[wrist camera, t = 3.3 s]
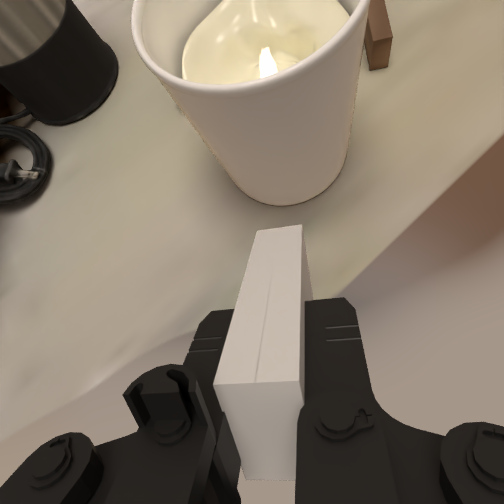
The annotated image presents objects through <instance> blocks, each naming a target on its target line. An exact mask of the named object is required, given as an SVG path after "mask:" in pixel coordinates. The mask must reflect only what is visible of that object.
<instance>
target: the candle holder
mask: <svg viewBox="0 0 504 504" xmlns="http://www.w3.org/2000/svg"><path fill="white" fill-rule="evenodd" d="M370 1H371V0H134V2H133V6H132V13H131V31H132V37H133V41H134V44H135V47H136V49H137V51H138V53H139V55H140V57H141V59H142V60H143V62H144V63H145V65H146V66H147V67H148V68H149V70H150V71H151V72H152V73H153V74H154V75H155V76H156V77H157V78H158V79H159V81H160V82H161V83H162V85H163V86H164V87H165V89H166V90H167V92H168V93H169V94H170V96H171V97H172V98H173V100H174V101H175V102H176V104H177V105H178V107H179V108H180V109H181V111H182V112H183V113H184V115H185V116H186V118H187V119H188V120H189V122H190V123H191V124H192V126H193V127H194V129H195V130H196V131H197V133H198V134H199V135H200V137H201V138H202V139H203V141H204V142H205V144H206V145H207V146H208V148H209V149H210V150H211V152H212V153H213V155H214V156H215V157H216V159H217V160H218V161H219V163H220V164H221V165H222V167H223V168H224V170H225V171H226V172H227V174H228V175H229V176H230V177H231V179H232V180H233V181H234V183H235V184H236V185H237V186H238V187H239V188H240V189H241V190H242V191H243V192H244V193H245V194H246V195H248V196H249V197H251V198H253V199H254V200H257V201H259V202H262V203H265V204H269V205H278V206H285V205H293V204H298V203H301V202H304V201H307V200H309V199H311V198H313V197H315V196H317V195H318V194H320V193H321V192H323V191H324V190H325V189H326V188H328V187H329V186H330V185H331V184H332V182H333V181H334V180H335V179H336V177H337V176H338V174H339V173H340V171H341V169H342V167H343V165H344V162H345V159H346V155H347V150H348V145H349V139H350V133H351V126H352V119H353V113H354V106H355V99H356V93H357V86H358V79H359V72H360V65H361V59H362V52H363V45H364V38H365V32H366V25H367V18H368V12H369V5H370Z"/></svg>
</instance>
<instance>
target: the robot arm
mask: <svg viewBox="0 0 504 504" xmlns="http://www.w3.org/2000/svg"><path fill="white" fill-rule="evenodd" d="M123 397H124V399H125V401H126V402H127V405H128V407H129V409H130V411H131V413H132V415H133V416H134V418H135V420H136V422H137V424H138V426H139V428H138V430H137V432H135V433H132V434H130V435H128V436H125V437H122V438H119V439H116V440H113V441H110V442H107V443H103V444H100V445H98V446H94V445H93V443H92V442H91V440H90V439H89V437H87V436H85V435H84V434H82V433H73V432H70V433H66V434H63V435H60V436H57V437H55V438H53V439H52V440H50V441H48V442H46V443H45V444H43V445H41V446H40V447H39V448H38V449H37V450H36V451H35V452H33V453H32V454H31V455H30V456H29V457H28V458H27V459H26V460H25V461H24V462H23V463H22V465H20V467H19V468H18V469H17V470H16V471H15V472H14V473H13V475H11V476H10V478H9V479H8V480H7V481H6V482H5V483H4V484H3V485H2V486H1V487H0V504H241V498H240V495H239V493H238V490H237V484H238V478H239V472H240V466H241V467H242V470H243V472H244V475H245V478H246V480H296V484H295V485H296V486H295V504H504V427H503V426H499V425H495V424H490V423H486V422H472V423H463V424H462V425H459V426H457V427H455V428H453V429H451V430H450V431H449V432H448V433H447V435H446V436H442V435H439V434H435V433H431V432H427V431H423V430H420V429H416V428H413V427H410V426H408V425H405V424H403V423H401V422H399V421H397V420H396V419H394V418H392V417H391V416H390V415H389V414H388V413H386V412H385V411H384V410H383V409H382V408H381V407H380V405H379V404H378V402H377V401H376V400H375V397H374V394H373V392H372V388H371V383H370V378H369V373H368V368H367V364H366V359H365V354H364V349H363V344H362V340H361V335H360V330H359V326H358V320H357V315H356V310H355V308H354V307H353V306H352V305H351V304H350V303H349V302H348V301H347V300H346V299H345V298H344V297H343V298H332V299H321V300H313V292H312V286H311V280H310V273H309V267H308V260H307V254H306V248H305V241H304V235H303V228H302V224H301V225H294V226H287V227H280V228H272V229H265V230H258V231H257V233H256V236H255V240H254V243H253V247H252V250H251V254H250V257H249V261H248V264H247V268H246V271H245V275H244V278H243V282H242V285H241V289H240V292H239V296H238V299H237V303H236V306H235V309H228V310H218V311H211V312H210V313H209V314H208V315H207V316H206V317H205V319H204V320H203V321H202V322H201V323H200V324H199V326H198V329H197V331H196V334H195V336H194V341H193V342H192V344H191V346H190V349H189V353H188V354H187V356H186V358H185V361H184V363H183V365H176V364H169V365H164V366H160V367H156V368H154V369H152V370H150V371H148V372H146V373H144V374H142V375H141V376H140V377H139V378H137V379H136V380H135V381H134V382H132V383H131V385H130V386H129V387H128V388H127V390H126V391H125V392H124V394H123Z"/></svg>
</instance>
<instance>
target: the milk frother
mask: <svg viewBox="0 0 504 504" xmlns="http://www.w3.org/2000/svg"><path fill="white" fill-rule="evenodd" d="M117 70H118V65H117V58H116V56H115V53H114V52H113V50H112V49H111V47H110V46H109V45H108V44H107V43H105V42H104V41H102V39H101V38H100V37H99V35H98V34H97V33H96V32H95V30H94V29H93V28H92V26H91V25H90V24H89V23H88V21H87V20H86V19H85V17H84V16H83V15H82V13H81V12H80V11H79V10H78V8H77V7H76V5H75V4H74V3H73V1H72V0H0V84H2V85H3V86H4V87H5V88H6V89H7V90H8V91H10V92H11V94H12V95H13V96H14V97H15V98H17V100H18V101H19V102H21V103H23V104H24V105H25V107H26V109H24V110H23V111H22V112H20V113H18V114H16V115H13V116H9V117H5V118H1V119H0V139H3V138H8V139H13V140H16V141H19V142H21V143H23V144H24V145H26V146H27V147H28V148H29V149H30V150H31V152H32V154H33V167H32V170H23V169H22V168H21V167H20V166H19V165H18V163H17V161H16V160H13V159H12V160H10V161H9V163H0V204H8V203H14V202H18V201H21V200H23V199H25V198H28V197H29V196H31V195H32V194H33V193H35V192H36V191H37V190H38V189H39V188H40V187H41V185H42V184H43V182H44V181H45V179H46V177H47V174H48V171H49V167H50V156H49V151H48V149H47V147H46V146H45V144H44V143H43V142H42V140H41V139H40V138H39V137H38V136H37V135H36V134H35V133H33V132H31V131H30V130H28V129H25V128H23V127H19V126H15V125H8V124H5V123H8V122H11V121H14V120H16V119H20V118H22V117H25V116H27V115H29V114H32V115H33V116H34V117H35V118H36V119H37V120H39V121H41V122H43V123H47V124H57V125H58V124H66V123H70V122H73V121H75V120H78V119H80V118H82V117H84V116H86V115H87V114H88V113H90V112H91V111H93V110H94V109H95V108H97V107H98V106H99V105H100V104H101V103H102V102H103V101H104V100H105V98H106V97H107V95H108V94H109V92H110V90H111V89H112V87H113V85H114V82H115V79H116V76H117Z"/></svg>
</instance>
